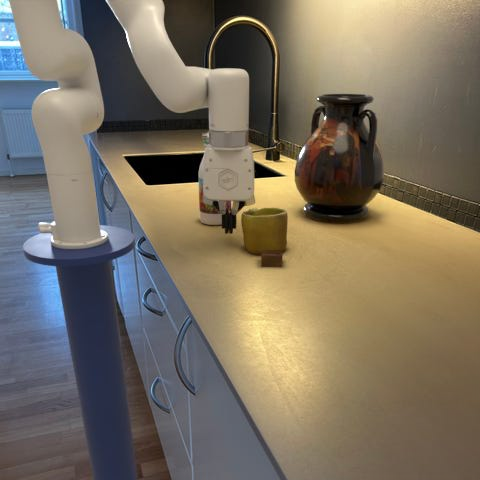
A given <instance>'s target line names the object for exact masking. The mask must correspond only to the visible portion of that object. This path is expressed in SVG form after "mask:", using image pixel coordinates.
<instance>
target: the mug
mask: <svg viewBox="0 0 480 480" xmlns="http://www.w3.org/2000/svg"><path fill="white" fill-rule="evenodd" d="M288 221H289V220H288V212H287V210H286V209H285V208H279V207H262V208H257V207H252V208H249V209H248V210H245V211H243V212H242V213H241V218H240V222H241V229H242V236H243V242H244V247H245V249H246V251H247V252H248V253H250V254H252V255H257V256H261V250H282V252H283V251H285V250H286V249H287V247H288V238H287V236H288Z"/></svg>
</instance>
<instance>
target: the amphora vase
mask: <svg viewBox="0 0 480 480" xmlns="http://www.w3.org/2000/svg"><path fill="white" fill-rule="evenodd" d="M374 99H375V97H374V96H373V95H371V94H370V95H369V94H364V93H363V94H362V93H326V94H320V95H318V96H317V97H316V101H317V102H318V103H320V104H321V105H319V106H318V107H316V108H315V110H313V111H314V112H313V114H312V119H311V123H310V124H311V125H310V126H311V127H310V128H311V129H310V136H309V137H308V138H307V139H306V141H304V143H303V145H302V146H301V148H300V151H299V152H298V156H297V157H296V162H295V167H294V183H295V186H296V190H297V191H298V193H299V194H300V196H301V198H302V199H303V200H304V202H306V203H304V206H303V207H302V212H303V214H304V215H305V216H307V217H308V218H310V219H311V220H312V219H313V220H314V221H319V222H324V223H331V224H332V223H334V224H347V223H349V224H350V223H355V222H359V221H361V220H365V219H366V218H367V217H368V216H369V214H370V210H369V207H368V206H367V205H368V204H369V203H370V202H371V201H372V200H374V199H375V198H376V196H377V195H378V194H379V193H380V190H381V189H382V186H383V183H384V177H385V164H384V162H385V161H384V157H383V151H382V149H381V146H380V143H379V142H378V140H377V134H378V119H377V115H376V112H374V110H372V109H365V108H366V107H365V106H367V105H369V104H371V103H373V102H374ZM322 114H323V120H321V123H320V118H321V115H322ZM366 117H367V118H368V127H367V125H366V124H365V121H364V119H365V118H366ZM319 123H320V125H319Z"/></svg>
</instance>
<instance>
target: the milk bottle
mask: <svg viewBox="0 0 480 480" xmlns="http://www.w3.org/2000/svg"><path fill="white" fill-rule="evenodd" d="M207 146H210V145H209V142H208V141H206V140H203V147H204V150H205V149H206V147H207ZM204 154H205V151H204V153H203V157H202V158H201V161H200V164H199V169H198V204H199V205H198V207H199V208H198V209H199V221H200V223H202V224H204V225H207V226H208V225H210V226H220V225H221V226H222V214H220V212H219V211H218V210H217V209H216V208H215V207H214V206H212V205H208V204H204V203H203V197H204V195H203V165H204ZM226 207H227V209H228V212H229V213H230V210H231V209H232V201H226Z"/></svg>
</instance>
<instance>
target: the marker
mask: <svg viewBox="0 0 480 480" xmlns="http://www.w3.org/2000/svg"><path fill="white" fill-rule="evenodd" d="M260 256H261V257H260V266H261V267H265V268H267V267H268V268H269V267H271V268H273V267H274V268H281V267H282V268H283V251H282V250H261V254H260Z"/></svg>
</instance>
